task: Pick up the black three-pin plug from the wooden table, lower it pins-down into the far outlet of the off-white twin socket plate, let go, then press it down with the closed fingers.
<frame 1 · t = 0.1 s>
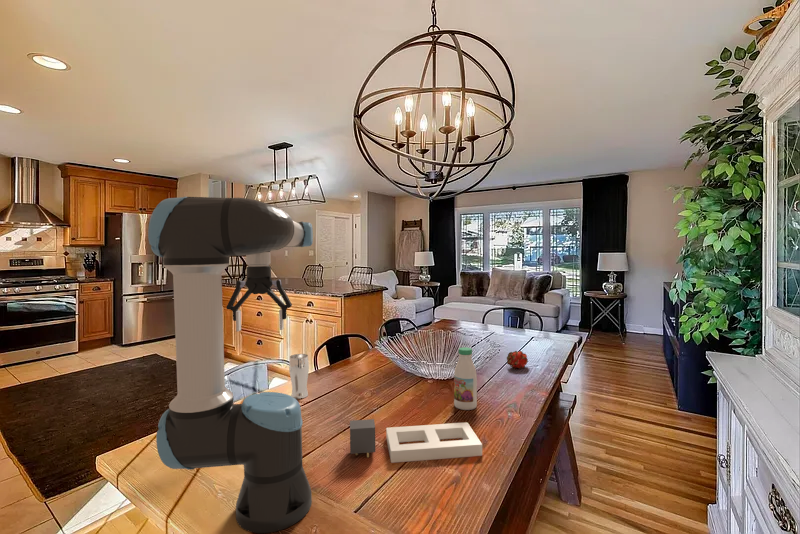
hand: (260, 330, 127), 28 cm above the table, tool pointing down, fingers open, 13 cm apart
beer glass: (299, 396, 143), on the table
plug: (362, 453, 102), on the table
dragon fruit: (517, 368, 175), on the table
milk bottle: (465, 406, 133), on the table
socket plate: (432, 446, 106), on the table
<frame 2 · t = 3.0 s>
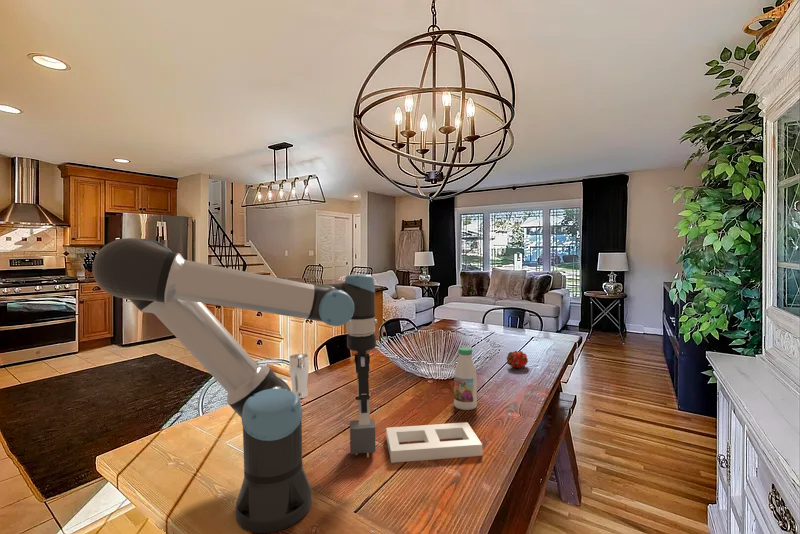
hand: (363, 412, 102), 11 cm above the table, tool pointing down, fingers open, 13 cm apart
nothing on the table moved.
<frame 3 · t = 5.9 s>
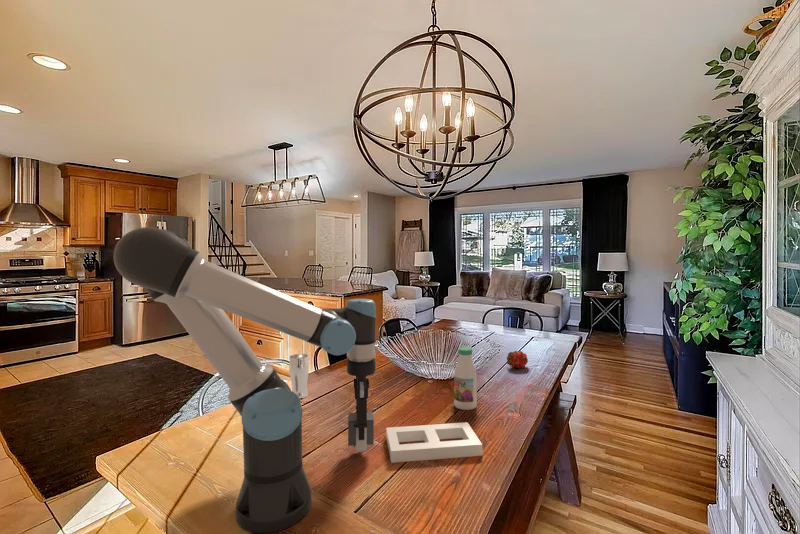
hand: (361, 444, 102), 2 cm above the table, tool pointing down, fingers closed on plug, 5 cm apart
plug: (360, 446, 102), point 2 cm above the table, touching gripper
everything else where it was.
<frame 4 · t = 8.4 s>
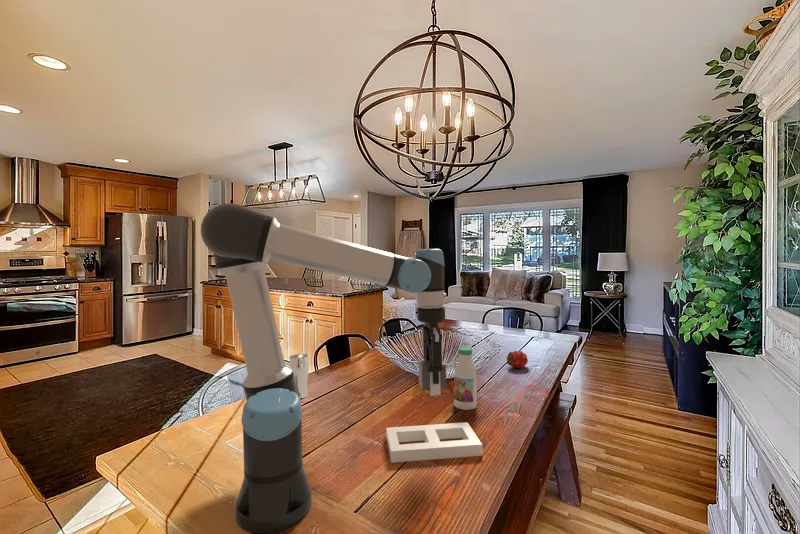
hand: (433, 390, 105), 16 cm above the table, tool pointing down, fingers closed on plug, 5 cm apart
plug: (432, 391, 105), point 15 cm above the table, touching gripper
everything else where it was.
when the fingers open (3 cm above the table, at t = 10.9 s): plug drops 3 cm, resting in socket plate.
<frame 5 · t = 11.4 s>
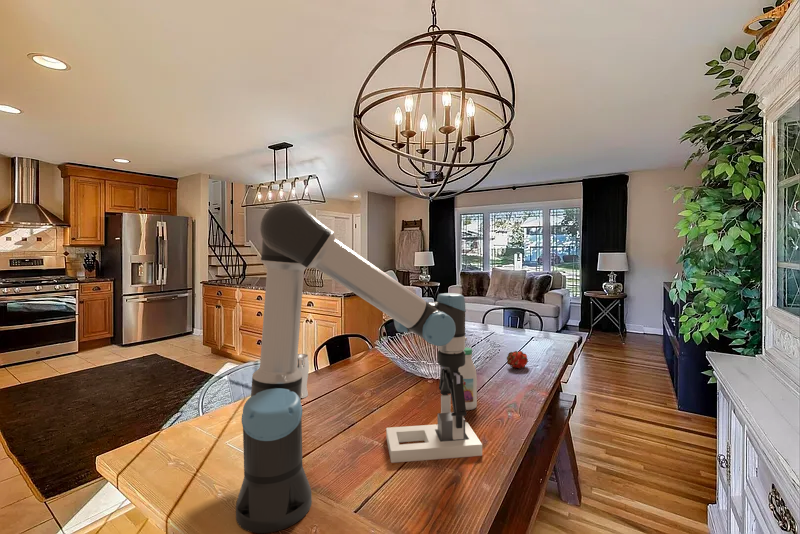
hand: (451, 427, 106), 5 cm above the table, tool pointing down, fingers open, 12 cm apart
plug: (451, 444, 107), resting in socket plate
everything else where it was.
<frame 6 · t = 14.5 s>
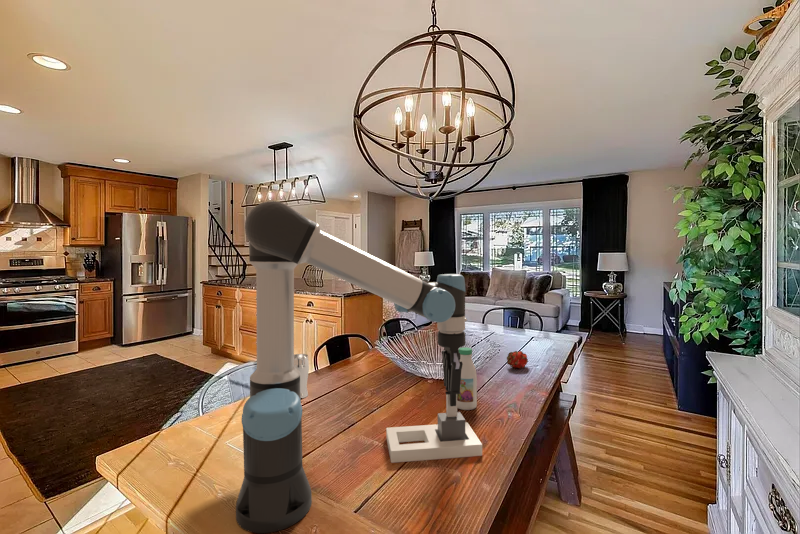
hand: (451, 415, 106), 8 cm above the table, tool pointing down, fingers closed
plug: (451, 444, 107), resting in socket plate, touching gripper
everything else where it was.
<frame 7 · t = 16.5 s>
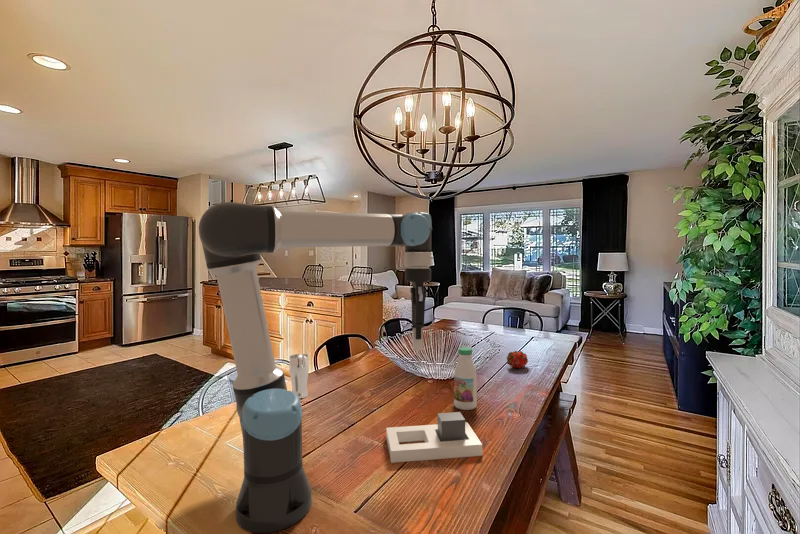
hand: (417, 349, 111), 25 cm above the table, tool pointing down, fingers closed
plug: (451, 444, 107), resting in socket plate
everything else where it was.
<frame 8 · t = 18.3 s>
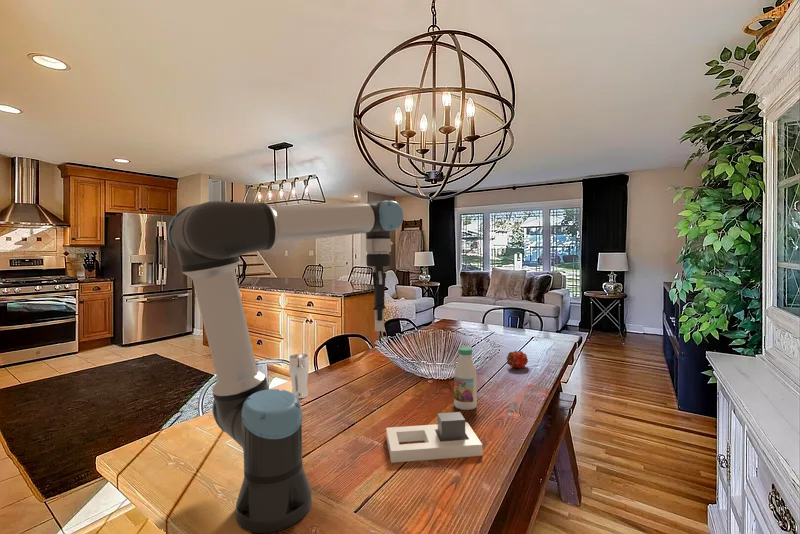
hand: (379, 330, 118), 29 cm above the table, tool pointing down, fingers closed
nothing on the table moved.
at the end: plug 0.1 cm from the target spot on the socket plate, point 0.0 cm above the socket plate's base; plug tilted 0°; the gripper is holding nothing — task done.
